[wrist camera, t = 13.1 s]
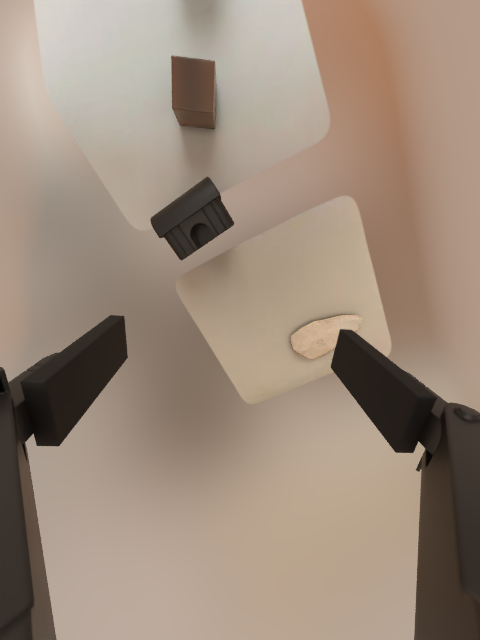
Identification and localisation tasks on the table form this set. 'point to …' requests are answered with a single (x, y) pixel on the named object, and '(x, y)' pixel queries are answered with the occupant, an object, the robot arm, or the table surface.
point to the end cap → (193, 219)
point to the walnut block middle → (194, 91)
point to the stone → (322, 335)
